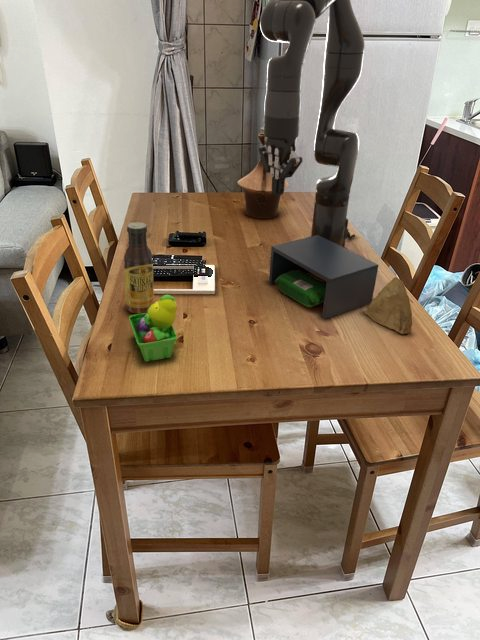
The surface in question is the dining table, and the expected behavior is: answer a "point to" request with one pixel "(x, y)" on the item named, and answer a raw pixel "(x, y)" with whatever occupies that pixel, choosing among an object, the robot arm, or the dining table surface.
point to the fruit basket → (156, 329)
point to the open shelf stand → (328, 271)
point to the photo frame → (199, 283)
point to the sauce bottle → (138, 270)
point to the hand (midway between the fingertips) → (277, 194)
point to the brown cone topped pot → (260, 190)
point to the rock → (392, 307)
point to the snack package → (302, 287)
